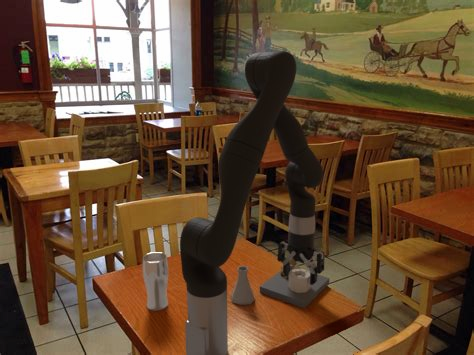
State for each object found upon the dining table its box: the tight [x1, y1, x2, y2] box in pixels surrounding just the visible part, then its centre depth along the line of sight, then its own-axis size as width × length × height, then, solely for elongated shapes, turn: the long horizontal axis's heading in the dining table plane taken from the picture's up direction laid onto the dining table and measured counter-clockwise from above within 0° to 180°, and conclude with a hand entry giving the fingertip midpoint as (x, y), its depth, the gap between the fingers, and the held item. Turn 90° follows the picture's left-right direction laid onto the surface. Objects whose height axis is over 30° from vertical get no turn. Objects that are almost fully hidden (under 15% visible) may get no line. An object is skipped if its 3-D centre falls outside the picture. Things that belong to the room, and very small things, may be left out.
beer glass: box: [142, 251, 169, 312], centre depth 116 cm, size 7×7×15 cm
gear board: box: [259, 270, 330, 309], centre depth 126 cm, size 17×15×6 cm
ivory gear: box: [288, 268, 310, 293], centre depth 122 cm, size 6×6×4 cm
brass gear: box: [279, 263, 305, 279], centre depth 131 cm, size 8×8×3 cm
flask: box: [230, 265, 256, 306], centre depth 119 cm, size 7×7×10 cm
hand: (299, 279), depth 122 cm, fingers open, 8 cm apart
